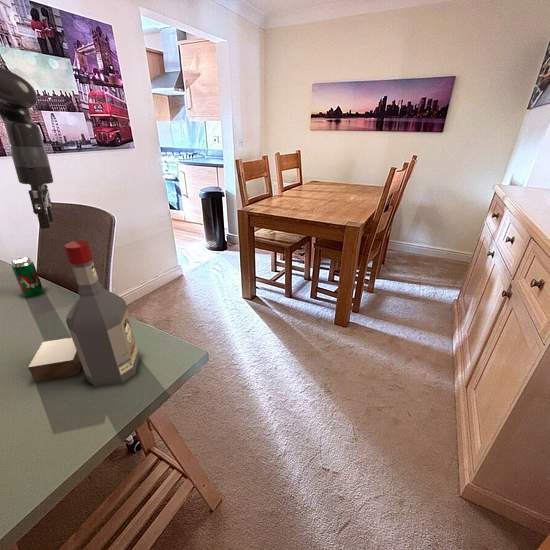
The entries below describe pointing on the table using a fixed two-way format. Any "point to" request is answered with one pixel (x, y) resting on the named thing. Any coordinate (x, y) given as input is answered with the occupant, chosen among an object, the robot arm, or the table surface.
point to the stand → (55, 360)
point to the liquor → (99, 324)
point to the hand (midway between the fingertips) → (47, 224)
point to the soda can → (27, 277)
